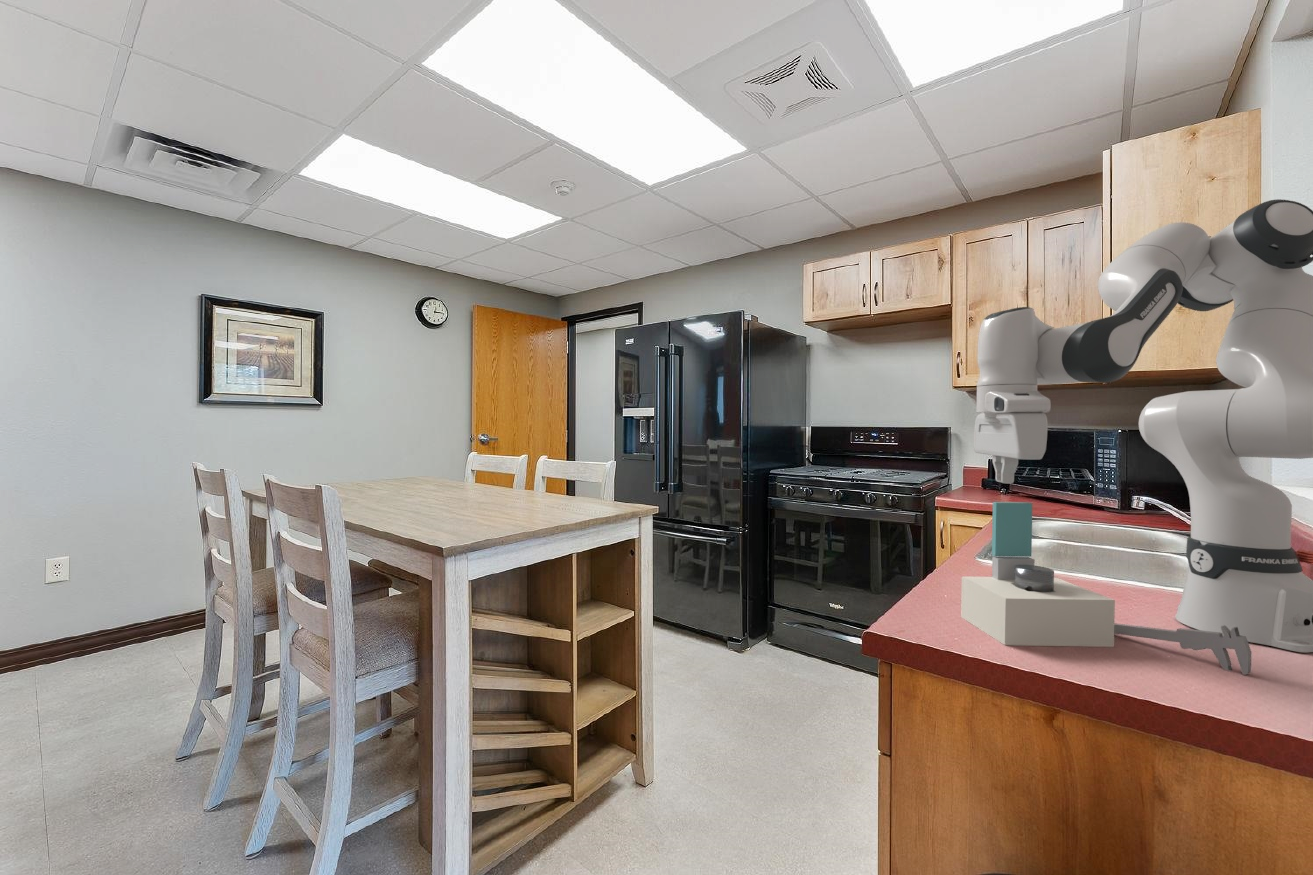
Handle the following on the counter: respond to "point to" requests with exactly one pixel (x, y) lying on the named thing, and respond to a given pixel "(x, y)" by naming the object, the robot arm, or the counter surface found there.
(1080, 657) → the counter surface
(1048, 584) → the pin
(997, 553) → the block
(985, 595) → the block
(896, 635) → the counter surface
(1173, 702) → the counter surface
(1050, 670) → the counter surface
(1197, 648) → the caliper
